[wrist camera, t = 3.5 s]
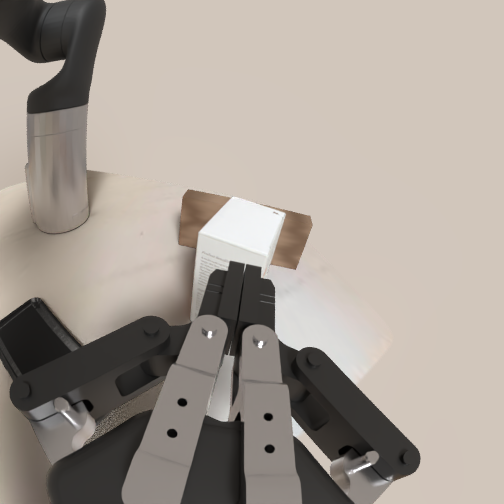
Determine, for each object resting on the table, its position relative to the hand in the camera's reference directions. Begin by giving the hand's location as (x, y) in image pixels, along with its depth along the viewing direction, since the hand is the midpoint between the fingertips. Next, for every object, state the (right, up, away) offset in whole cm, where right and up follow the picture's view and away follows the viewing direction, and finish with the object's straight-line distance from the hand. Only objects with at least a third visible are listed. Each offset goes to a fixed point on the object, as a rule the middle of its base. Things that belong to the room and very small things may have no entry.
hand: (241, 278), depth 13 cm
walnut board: (-1, +1, +24) cm, 24 cm away
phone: (-18, -9, +4) cm, 20 cm away
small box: (-2, -5, +16) cm, 17 cm away
